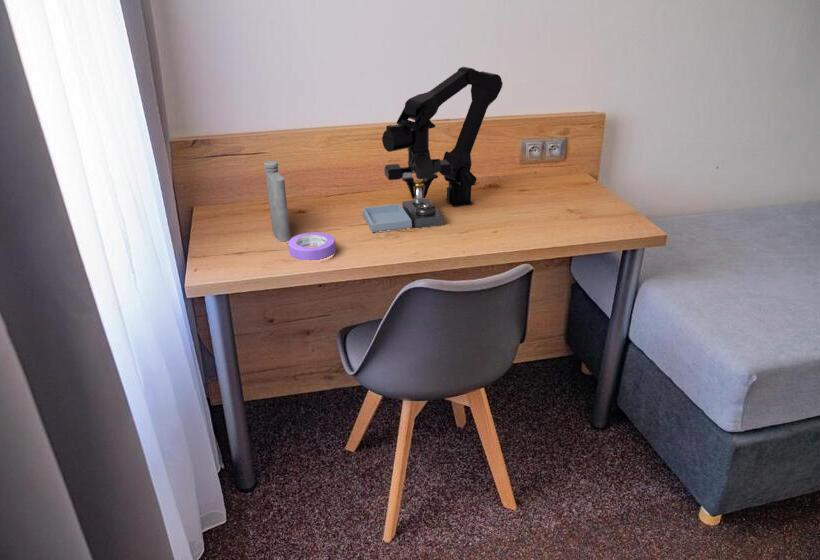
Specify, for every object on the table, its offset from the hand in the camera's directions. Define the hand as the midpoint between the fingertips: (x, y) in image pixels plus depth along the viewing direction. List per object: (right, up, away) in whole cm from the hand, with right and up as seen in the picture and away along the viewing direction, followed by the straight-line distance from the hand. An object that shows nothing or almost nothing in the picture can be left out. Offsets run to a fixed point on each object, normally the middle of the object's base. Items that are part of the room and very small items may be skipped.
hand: (418, 198), depth 182 cm
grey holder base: (+1, -6, -1) cm, 6 cm away
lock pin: (0, -4, +2) cm, 4 cm away
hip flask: (-38, -11, -9) cm, 41 cm away
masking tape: (-27, -17, -21) cm, 39 cm away
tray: (-9, -7, -3) cm, 12 cm away
